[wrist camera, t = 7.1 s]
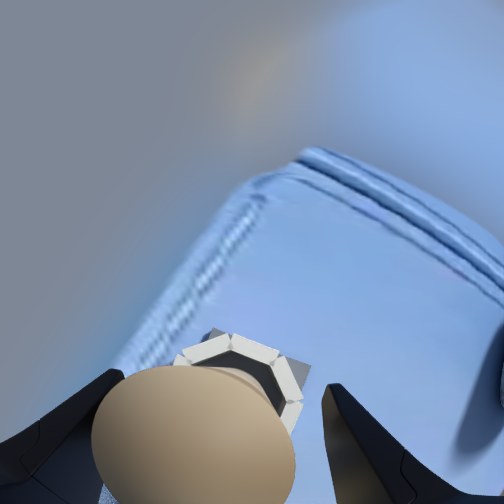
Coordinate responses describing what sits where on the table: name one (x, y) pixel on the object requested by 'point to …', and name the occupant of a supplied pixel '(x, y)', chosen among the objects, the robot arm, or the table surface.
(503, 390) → the grey streaked oval stone
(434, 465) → the table surface
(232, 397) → the peg
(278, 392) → the board
